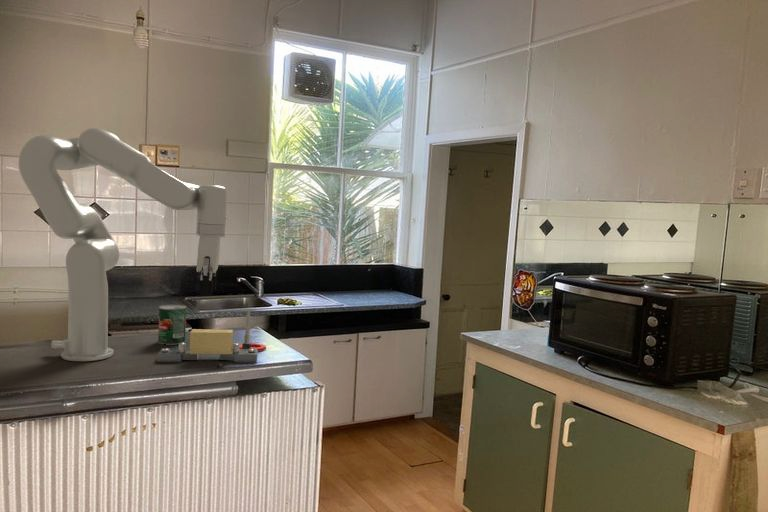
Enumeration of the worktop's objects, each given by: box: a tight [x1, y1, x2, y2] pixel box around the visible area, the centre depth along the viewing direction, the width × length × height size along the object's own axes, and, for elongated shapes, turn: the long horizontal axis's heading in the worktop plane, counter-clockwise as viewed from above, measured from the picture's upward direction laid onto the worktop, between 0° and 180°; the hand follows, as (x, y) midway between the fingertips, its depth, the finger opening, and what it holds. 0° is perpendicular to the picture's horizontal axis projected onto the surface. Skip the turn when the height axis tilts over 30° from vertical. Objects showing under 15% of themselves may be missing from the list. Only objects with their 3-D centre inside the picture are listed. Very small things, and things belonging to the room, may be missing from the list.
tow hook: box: [239, 308, 267, 353], centre depth 174 cm, size 8×13×9 cm
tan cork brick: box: [189, 328, 234, 355], centre depth 160 cm, size 11×4×6 cm, turn 101°
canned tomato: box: [157, 304, 187, 346], centre depth 177 cm, size 8×8×11 cm
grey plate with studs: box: [157, 342, 258, 363], centre depth 161 cm, size 26×6×4 cm, turn 101°
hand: (207, 292), depth 160 cm, fingers open, 9 cm apart
